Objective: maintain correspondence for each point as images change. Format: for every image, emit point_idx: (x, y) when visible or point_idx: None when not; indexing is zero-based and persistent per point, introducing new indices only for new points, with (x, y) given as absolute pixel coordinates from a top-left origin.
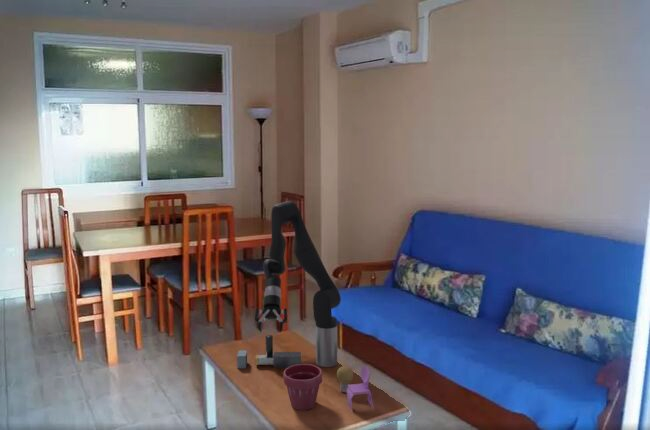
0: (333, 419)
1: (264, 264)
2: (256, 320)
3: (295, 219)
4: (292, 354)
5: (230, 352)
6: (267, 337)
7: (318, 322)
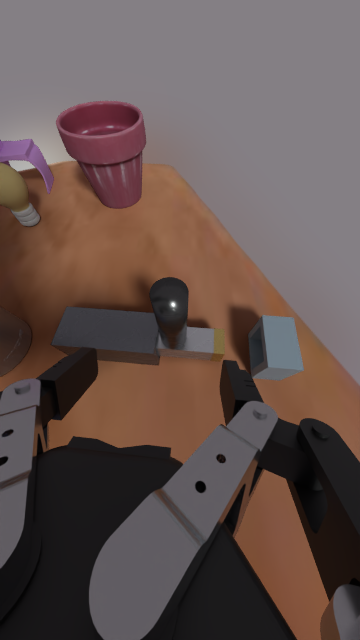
0: None
1: None
2: (305, 420)
3: None
4: (89, 324)
5: None
6: (178, 280)
7: None
